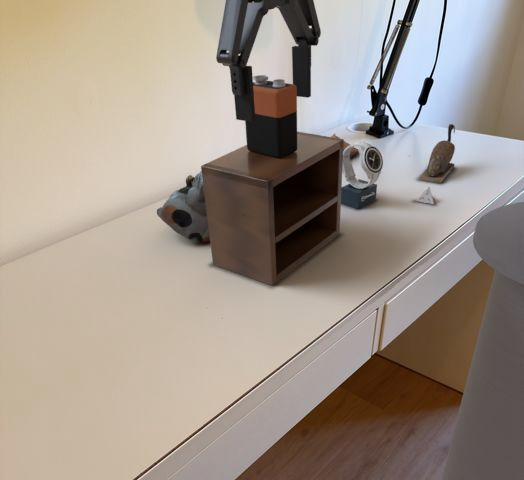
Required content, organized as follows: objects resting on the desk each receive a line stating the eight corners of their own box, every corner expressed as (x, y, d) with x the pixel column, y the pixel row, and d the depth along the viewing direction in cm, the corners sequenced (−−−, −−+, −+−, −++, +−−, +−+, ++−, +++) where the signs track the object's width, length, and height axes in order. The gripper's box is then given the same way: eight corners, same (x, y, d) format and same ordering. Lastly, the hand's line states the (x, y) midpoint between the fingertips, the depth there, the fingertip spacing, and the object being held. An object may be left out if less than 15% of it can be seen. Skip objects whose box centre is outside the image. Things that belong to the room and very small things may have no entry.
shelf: (339, 234, 92) (343, 139, 82) (272, 285, 80) (267, 181, 70) (283, 219, 98) (281, 128, 88) (212, 265, 86) (200, 165, 76)
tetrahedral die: (437, 204, 102) (441, 188, 101) (433, 204, 100) (437, 188, 98) (420, 200, 103) (424, 185, 102) (416, 201, 101) (420, 184, 100)
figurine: (439, 158, 118) (445, 118, 113) (459, 161, 116) (467, 120, 111) (419, 180, 109) (425, 137, 104) (440, 183, 107) (447, 139, 102)
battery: (264, 143, 82) (261, 72, 76) (298, 151, 78) (298, 77, 72) (245, 151, 80) (240, 78, 74) (279, 159, 76) (277, 83, 70)
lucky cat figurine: (197, 206, 104) (226, 142, 96) (240, 243, 101) (273, 180, 93) (142, 213, 92) (169, 140, 84) (189, 255, 89) (221, 184, 81)
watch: (365, 211, 99) (370, 152, 92) (333, 200, 103) (335, 143, 97) (384, 202, 101) (389, 144, 95) (351, 192, 106) (354, 135, 99)
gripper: (299, -87, 71) (302, 85, 84) (169, -81, 56) (196, 127, 69) (348, -91, 67) (343, 89, 80) (222, -86, 52) (241, 135, 65)
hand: (275, 107), depth 75 cm, fingers open, 13 cm apart
